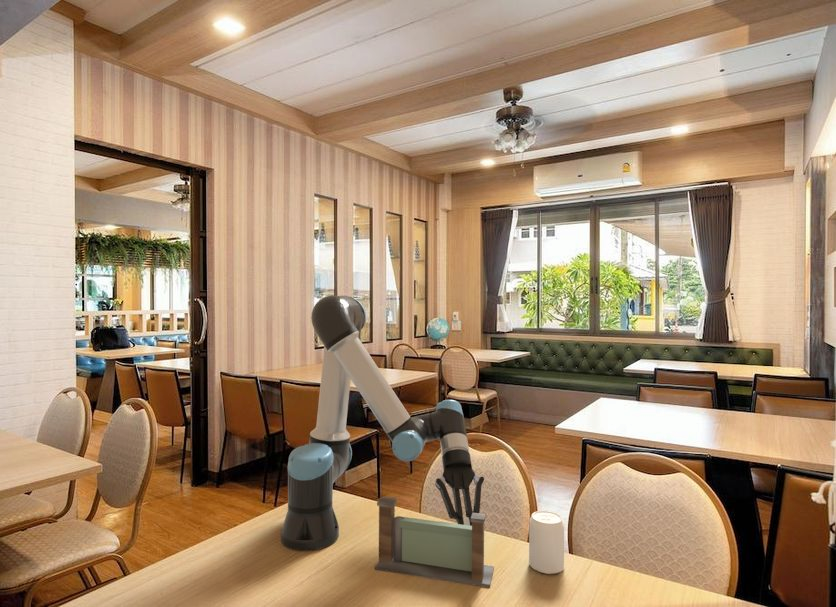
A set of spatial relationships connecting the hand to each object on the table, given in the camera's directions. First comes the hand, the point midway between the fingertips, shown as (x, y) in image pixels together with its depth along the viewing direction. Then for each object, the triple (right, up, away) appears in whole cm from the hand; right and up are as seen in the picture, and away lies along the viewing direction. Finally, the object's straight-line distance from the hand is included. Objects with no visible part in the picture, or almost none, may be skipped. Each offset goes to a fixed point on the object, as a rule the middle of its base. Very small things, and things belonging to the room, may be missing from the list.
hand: (469, 547), depth 118 cm
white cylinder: (+19, -6, +1) cm, 19 cm away
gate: (-7, -4, 0) cm, 9 cm away
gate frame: (-8, -5, 0) cm, 10 cm away
